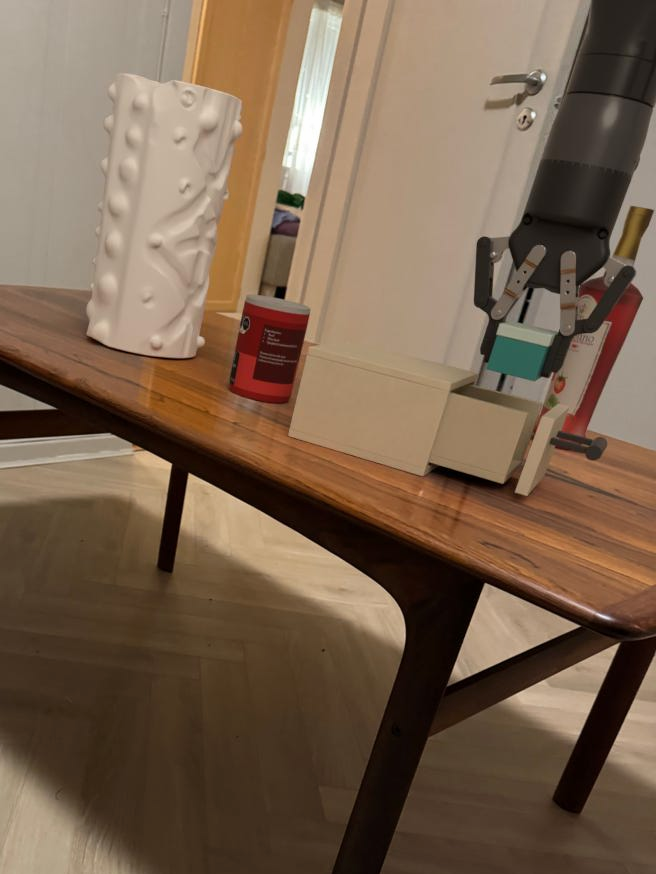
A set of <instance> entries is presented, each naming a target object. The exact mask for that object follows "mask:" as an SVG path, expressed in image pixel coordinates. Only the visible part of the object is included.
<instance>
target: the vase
mask: <svg viewBox="0 0 656 874" xmlns="http://www.w3.org/2000/svg"><path fill="white" fill-rule="evenodd" d="M107 95H108V97H109V99H110V101H112V102H113V104H112V105H113V106H112V113H111V114H110V115H108V116H106V117H105V118H104V120H103V122H102V123H103V124H102V125H103V128H104V130H105V131H106V132H107V134H108V135H109V145H108V154H107V157H105V158H103V159H102V161H101V162H100V170H101V172H102V174H103V176H104V178H105V182H104V188H103V197H102V200H101V201H100V202H99V203H97V211H98V212H100V214H101V219H100V225H99V226H96V228H95V235H96V237H97V238H98V244H97V252H96V256H94V257H93V258H92V260H91V263H92V264H93V266H94V278H93V282H92V283H90V285H89V289H90V291H91V298H90V300H89V301H88V303H87V304H86V306H85V307H86V308H85V314H86V316H87V318H88V321H89V322H88V327H87V330H86V336H87V337H89V338H92V339H93V340H95V341H97V342H99V343H100V344H103V345H104V346H106V347H108V348H111V349H115V350H119V351H122V352H123V351H124V352H127V353H131V354H136V355H143V356H148V357H155V358H156V357H157V358H164V359H165V358H167V359H190V358H194V357H195V356H196V355H197V351H198V349H200V348H203V347H204V346H205V343H206V340H205V337H203V336H202V335H201V336H200V332H201V330H202V329H201V328H202V325H203V318H204V313H205V308H206V303H207V302H206V301H207V297H208V291H209V286H210V269H211V267H212V263H213V261H214V258H215V253H216V252H217V249H218V246H217V242H218V226H219V223H220V220H221V218H222V214H223V209H224V202H225V201H227V200H228V199H229V196H230V193H229V189H228V183H229V175H230V170H231V165H232V159H233V157H234V155H235V153H236V148H235V144H236V143H235V142H236V140H238V139H240V138H241V136H242V134H243V125H242V123H241V122H240V121H241V119H242V115H241V112H242V111H243V100H241V99H240V98H238V97H237V96H235V95H233V94H230V93H227V92H224V91H221V90H218V89H214V88H211V87H207V86H203V85H199V84H196V83H191V82H187V81H182V80H176V79H171V80H170V81H166V82H163V83H162V82H159V81H156V80H152V79H148V78H147V77H146V76H145V77H144V76H141V75H138V74H134V73H124V72H123V73H117V74H115V77H114V81H113V83H112V84H110V86H109V87H108V89H107Z"/></svg>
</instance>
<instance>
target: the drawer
mask: <svg viewBox="0 0 656 874" xmlns="http://www.w3.org/2000/svg"><path fill="white" fill-rule="evenodd" d="M543 404H544V402H541V401H537V400H533V399H530V398H526V397H522V396H518V395H514V394H510V393H507V392H503V391H498V390H495V389H490V388H487V387H482V386H479V385H476V384H475V385H471V384H466V385H464V386H461V387H459V388H456V389H454V390H451V392H450V396H449V399H448V402H447V405H446V409H445V412H444V415H443V418H442V421H441V425H440V428H439V431H438V434H437V438H436V441H435V444H434V447H433V451H432V454H431V457H430V460H429V463H433V464H436V465H439V467H443V468H447V469H449V470H450V469H451V470H453V471H457V472H460V473H463V474H468V475H470V476H474V477H478V478H481V479H484V480H488V481H491V482H494V483H498V484H502V485H503V484H505V483H506V482H507V481H508V480H509V479H510V478H511V477H512V476H514V474H515V473H516V472H517V471H518V470H519V469H520V468H521V467H522V464H523V460H524V458H525V455H526V452H527V451H528V453H527V456H526V459H525V462H524V464H523V467H522V470H521V473H520V476H519V479H518V481H517V484H516V487H515V489H514V493H515V494H518V495H522V496H525V497H528V496H529V494H530V493H531V492H532V491H533V490H534V489H535V488H536V486H537V485H538V484H539V483H540V482H541V480H542V479H543V478H545V475H546V473H547V470H548V467H549V464H550V462H551V459H552V457H553V454H554V451H555V449H556V447H555V446H558V447H562V448H566V449H565V450H568V449H569V450H568V451H573V452H576V453H581V454H585V457H586V459H587V460H589V461H592V462H595V461H598V460H599V459H600V458H601V457H602V455H603V454H604V452H605V450H606V449H607V447H608V440H607V439H606V438H605V437H603V436H597V437H595V438H594V439H592V438H590V437H589V438H588V437H586V436H585V437H586V438H585V437H582V436H578V435H574V434H570V433H567V432H563V431H561V430H562V427H563V424H564V422H565V419H566V416H567V413H568V411H569V408H570V407H569V406H566V405H562V404H557V405H556V406H555V407H553V408H552V409H551V410H549V411H548V412H547V413H546V414H544V415H543V416H542V417H541V420H540V422H539V425H538V428H537V431H536V434H534V437H533V440H532V442H531V438H532V436H533V433H534V432H533V430H534V427H535V425H536V423H537V422H538V419H539V416H540V413H541V410H542V407H543ZM558 438H562V439H565V440H569V441H573V442H577V443H580V444H581V445H579V444H576V443H572V442H568V441H565V440H561V439H558ZM530 442H531V445H530V447H529V444H530ZM528 447H529V450H527V449H528Z"/></svg>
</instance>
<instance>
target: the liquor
mask: <svg viewBox="0 0 656 874" xmlns="http://www.w3.org/2000/svg"><path fill="white" fill-rule="evenodd" d="M654 213H655V209H652V208H647V207H642V206H637V205H630V206H629V208H628V211H627V214H626V217H625V220H624V222H623V228H622V233H621V236H620V238H619V240H618V243H617V245H616V247H615V249H614V251H613V253H612V255H611V257H612V258H614V259H616V260H618V261H619V262H621V263H623V264H625V265H630V266H633V267H634V268H635V264H636V263H635V262H636V259H637V256H638V252H639V248H640V244H641V242H642V238H643V237H644V235H645V233H646V231H647V229H648V227H649V226H650V223H651V221H652V218H653V216H654ZM605 276H606V270H605V271H604V273H603V275H601V276H598V277H593V278H591V279H590V278H589V279H587V280H586V281H585V282H584V283H582V284H581V285H580V286H579V305H578V320H580V319H588V317H589V316H590V314H591V313H592V311H593V310H594V308H595V307H596V305H597V304H598V302H599V301H600V299H601V298H602V297H603V295H604V294H605V292H606V291H607V289H608V288H609V287H607V286H606V285H605V284H604V278H605ZM643 300H644V296H643V295H642V293H641V292H640V290H639V288H638V287H636V286H635V285H634V284H633V283H632V282H631V283H630V285H629V286H628V288H627V289H626V290H625V292H624V293H623V295H622V296H621V298H620V299H619V301H618V302H617V303H616V305H615V306H614V308H613V309H612V311H611V312H610V314H609V315H608V316H607V318H606V319H605V321H604V322H603V324H602V325H601V327H600V328H599V329H598V330H597V331H596V332H594V333H585V334H578V335H576V336H575V337H574V338H573V339H572V341H571V344H570V347H569V349H568V352H567V355H566V358H565V360H564V363H563V366H562V368H561V369H560V370H559V371H558V372H557V373H553V372H552V375H551V379H550V383H549V385H548V389H547V392H546V395H545V398H544V401H543V405H542V408H541V411H540V413H539V416H538V419H537V422H536V425H535V427H534V430H533V433H534V435H535V434H536V431H537V428H538V425H539V422H540V420H541V417H542V416H543V415H544V414H546V413H547V412H548V411H549V410H551V409H552V408H553V407H555V406H556V405H557V404H562V405H566V406H569V407H570V408H569V411H568V413H567V416H566V419H565V422H564V424H563V427H562V430H561V431H563V432H567V433H570V434H574V435H578V436H582V437H585V438H587V437H586V432H587V429H588V428H589V425H590V423H591V419H592V417H593V416H594V413H595V411H596V407H597V406H598V403H599V400H600V398H601V397H602V394H603V391H604V389H605V387H606V384H607V382H608V379H609V377H610V375H611V372H612V370H613V368H614V366H615V364H616V362H617V360H618V357H619V355H620V353H621V350H622V348H623V346H624V344H625V342H626V339H627V338H628V335H629V333H630V331H631V329H632V328H631V327H632V326H633V324H634V321H635V319H636V317H637V314H638V311H639V309H640V307H641V304H642V302H643ZM558 439H561V440H565V439H562V438H558ZM565 441H568V442H572V443H576V444H579V445H582V444H580V443H577V442H573V441H569V440H565ZM555 449H560V450H568V451H570V450H569V449H566V448H562V447H558V446H555Z"/></svg>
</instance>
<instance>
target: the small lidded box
mask: <svg viewBox="0 0 656 874" xmlns="http://www.w3.org/2000/svg"><path fill="white" fill-rule="evenodd" d="M505 322H506V323H501V324H499V327H498V330H497V333H496V335H497V337H496V340H495V343H494V346H493V349H492V352H491V355H490V358H489V361H488V363H486V364H487V365H486V371H487V370H488V371H492V372H495V373H500V374H503V375H507V376H511V377H515V378H520V379H523V380H526V381H527V380H528V381H531V382H536V381H538V380H540V379H542V377H541V372H542V370H543V367H544V364H545V361H546V358H547V355H548V353H549V350H550V347H551V345H552V342H553V340H554V337H555V335H556V334H558V332H559V331H556V330H552V329H547V328H543V327H539V326H534V325H530V324H525V323H521V322H518V321H505Z"/></svg>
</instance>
